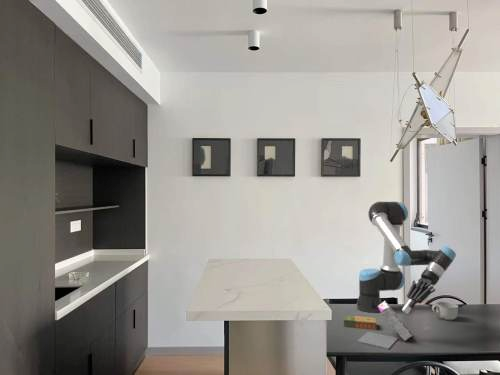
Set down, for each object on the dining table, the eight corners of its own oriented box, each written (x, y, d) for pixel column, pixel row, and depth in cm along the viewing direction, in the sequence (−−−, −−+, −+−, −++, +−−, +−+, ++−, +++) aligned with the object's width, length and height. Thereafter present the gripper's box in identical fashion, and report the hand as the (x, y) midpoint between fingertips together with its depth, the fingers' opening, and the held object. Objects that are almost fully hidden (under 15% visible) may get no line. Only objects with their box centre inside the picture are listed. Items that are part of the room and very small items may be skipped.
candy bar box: (399, 333, 180) (377, 305, 182) (407, 327, 179) (385, 300, 182) (404, 342, 169) (380, 312, 171) (413, 335, 168) (389, 306, 171)
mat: (368, 332, 180) (368, 331, 180) (397, 339, 172) (397, 338, 172) (357, 341, 168) (357, 340, 168) (388, 349, 160) (388, 348, 160)
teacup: (452, 315, 208) (452, 301, 209) (462, 322, 198) (461, 307, 198) (427, 314, 210) (427, 300, 210) (435, 321, 199) (434, 306, 199)
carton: (376, 330, 184) (376, 322, 184) (343, 327, 189) (343, 319, 189) (375, 325, 192) (375, 317, 192) (344, 322, 197) (344, 314, 197)
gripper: (447, 281, 172) (419, 321, 167) (426, 276, 185) (399, 313, 179) (438, 271, 171) (409, 310, 166) (418, 266, 184) (390, 303, 178)
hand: (404, 311), depth 173 cm, fingers closed
